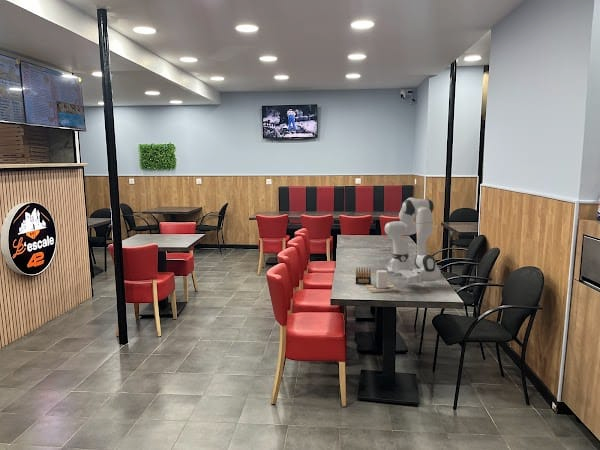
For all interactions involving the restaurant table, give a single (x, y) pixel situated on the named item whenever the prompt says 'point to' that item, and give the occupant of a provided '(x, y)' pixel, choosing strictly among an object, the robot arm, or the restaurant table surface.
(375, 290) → the header board
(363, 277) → the ammunition clip
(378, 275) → the block
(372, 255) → the restaurant table surface
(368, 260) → the restaurant table surface
